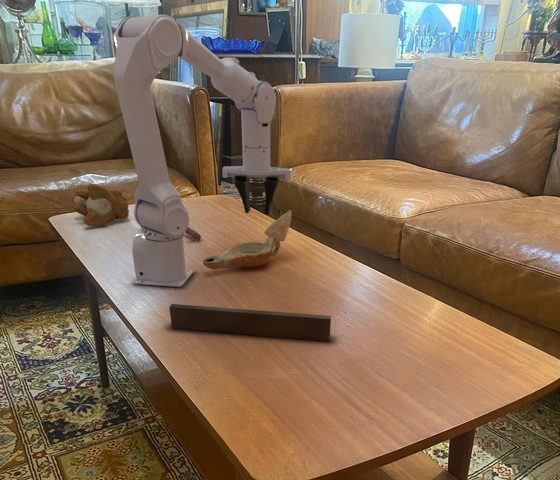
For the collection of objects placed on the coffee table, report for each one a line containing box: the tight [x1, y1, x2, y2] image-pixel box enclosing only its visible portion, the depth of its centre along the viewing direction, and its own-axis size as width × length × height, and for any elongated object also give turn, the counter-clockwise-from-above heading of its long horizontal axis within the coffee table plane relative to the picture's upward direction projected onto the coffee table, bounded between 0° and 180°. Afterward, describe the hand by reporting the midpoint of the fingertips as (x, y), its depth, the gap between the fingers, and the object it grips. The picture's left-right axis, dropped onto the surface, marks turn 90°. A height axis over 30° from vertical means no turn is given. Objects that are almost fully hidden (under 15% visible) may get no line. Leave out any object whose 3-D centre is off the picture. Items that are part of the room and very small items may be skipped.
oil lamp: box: [202, 209, 292, 270], centre depth 113 cm, size 9×21×10 cm, turn 124°
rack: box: [168, 303, 332, 343], centre depth 88 cm, size 26×1×4 cm, turn 80°
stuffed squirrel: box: [72, 183, 130, 226], centre depth 143 cm, size 10×14×13 cm
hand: (257, 212), depth 120 cm, fingers open, 4 cm apart
